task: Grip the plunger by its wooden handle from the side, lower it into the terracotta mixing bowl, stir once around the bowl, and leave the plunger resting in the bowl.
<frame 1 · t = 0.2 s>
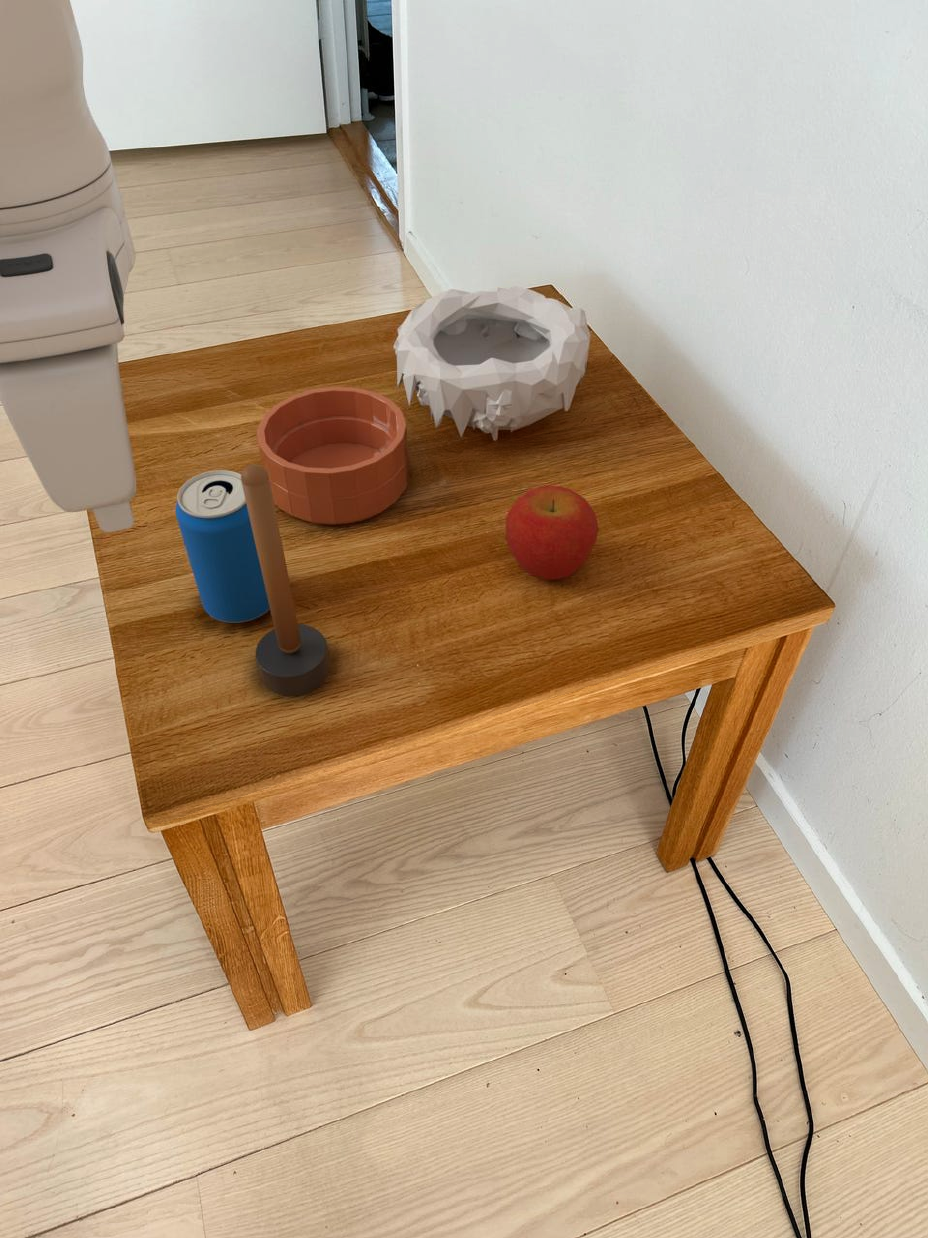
hand: (110, 471, 53), 24 cm above the table, tool pointing down, fingers open, 8 cm apart
beverage can: (242, 603, 80), on the table
plunger: (295, 669, 75), on the table
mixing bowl: (338, 482, 91), on the table
bowl: (492, 408, 100), on the table
apple: (548, 567, 83), on the table
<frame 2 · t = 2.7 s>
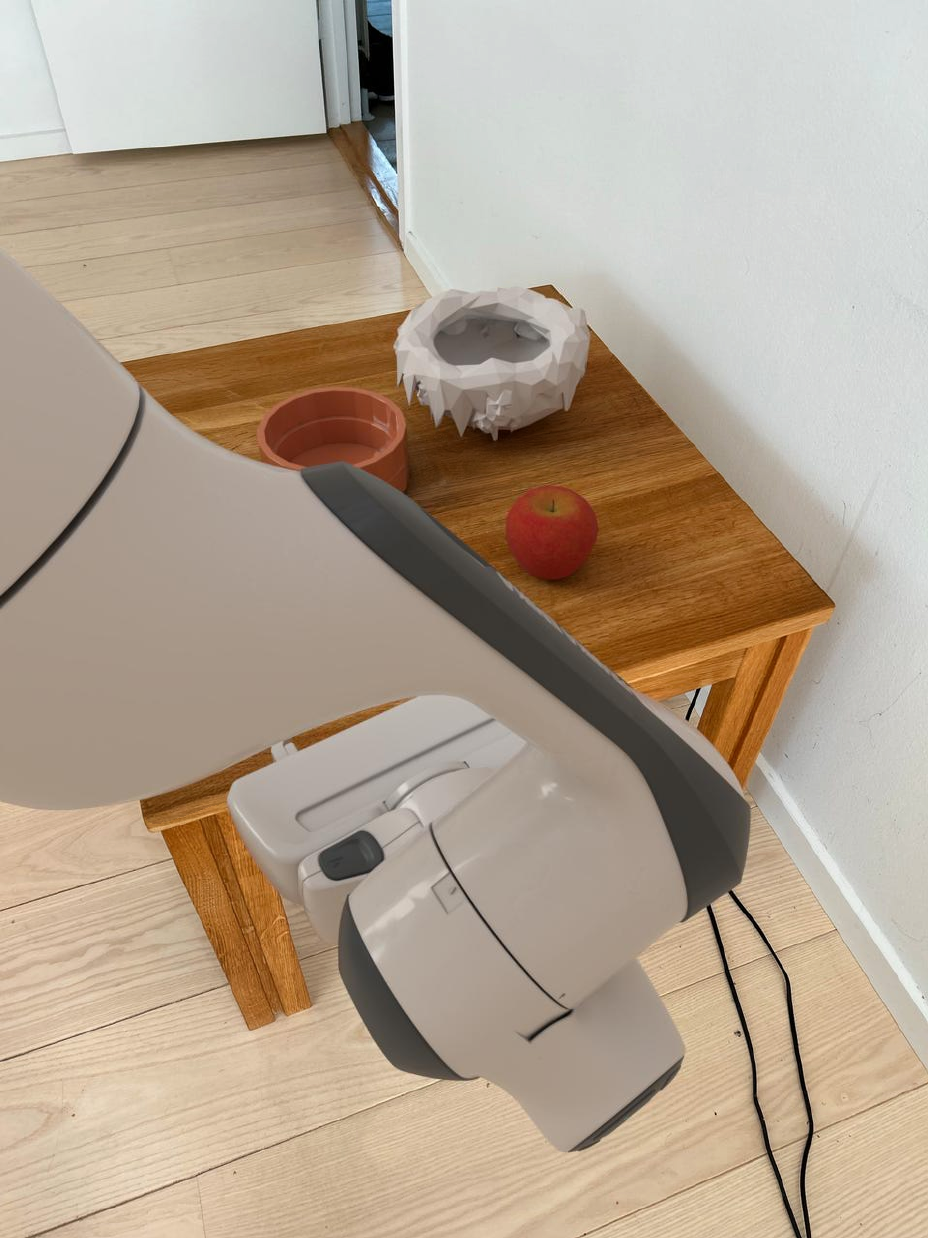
hand: (346, 679, 60), 11 cm above the table, tool horizontal, fingers open, 8 cm apart
nothing on the table moved.
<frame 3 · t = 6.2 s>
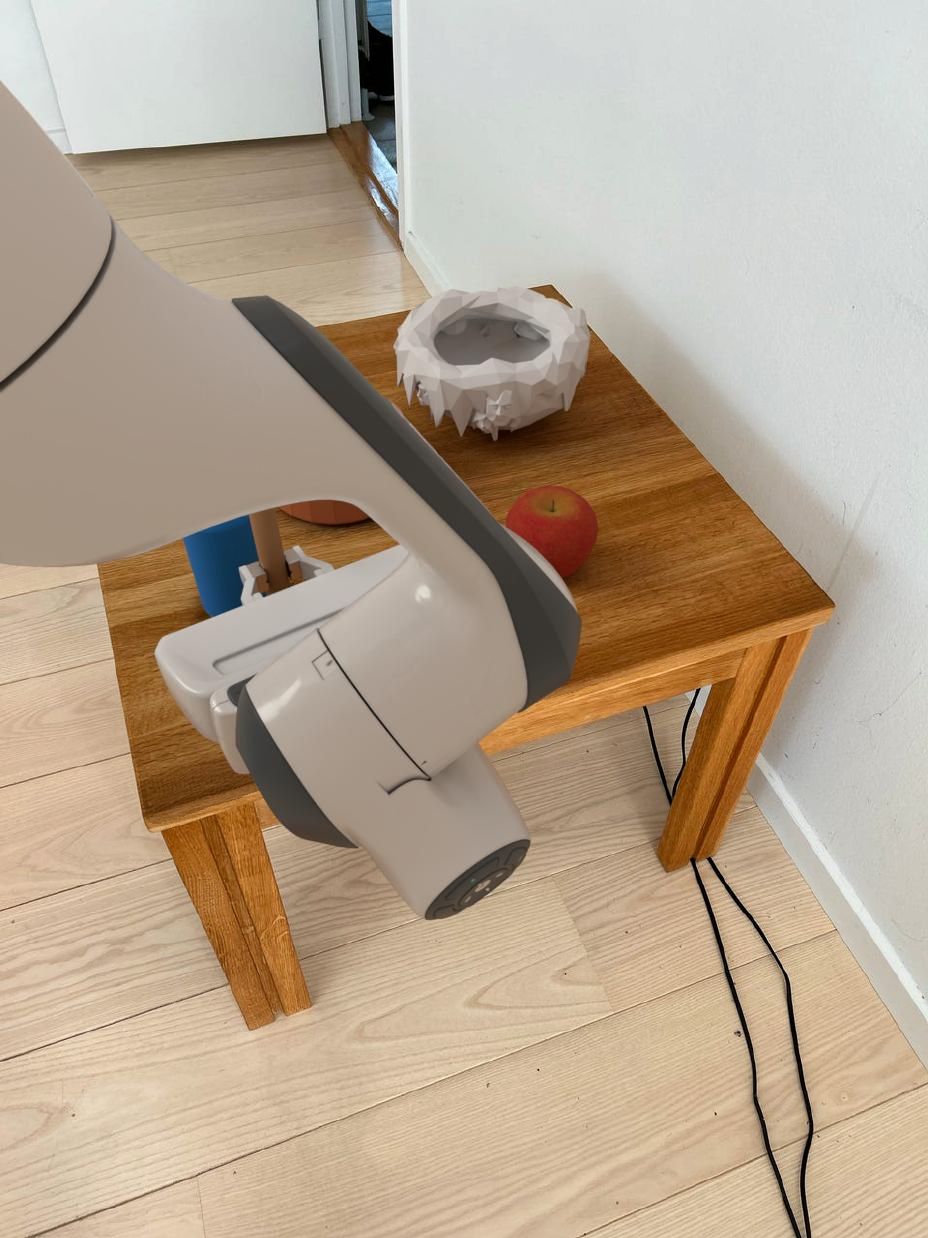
hand: (269, 562, 67), 11 cm above the table, tool horizontal, fingers closed on plunger
plunger: (295, 669, 75), on the table, touching gripper
everything else where it was.
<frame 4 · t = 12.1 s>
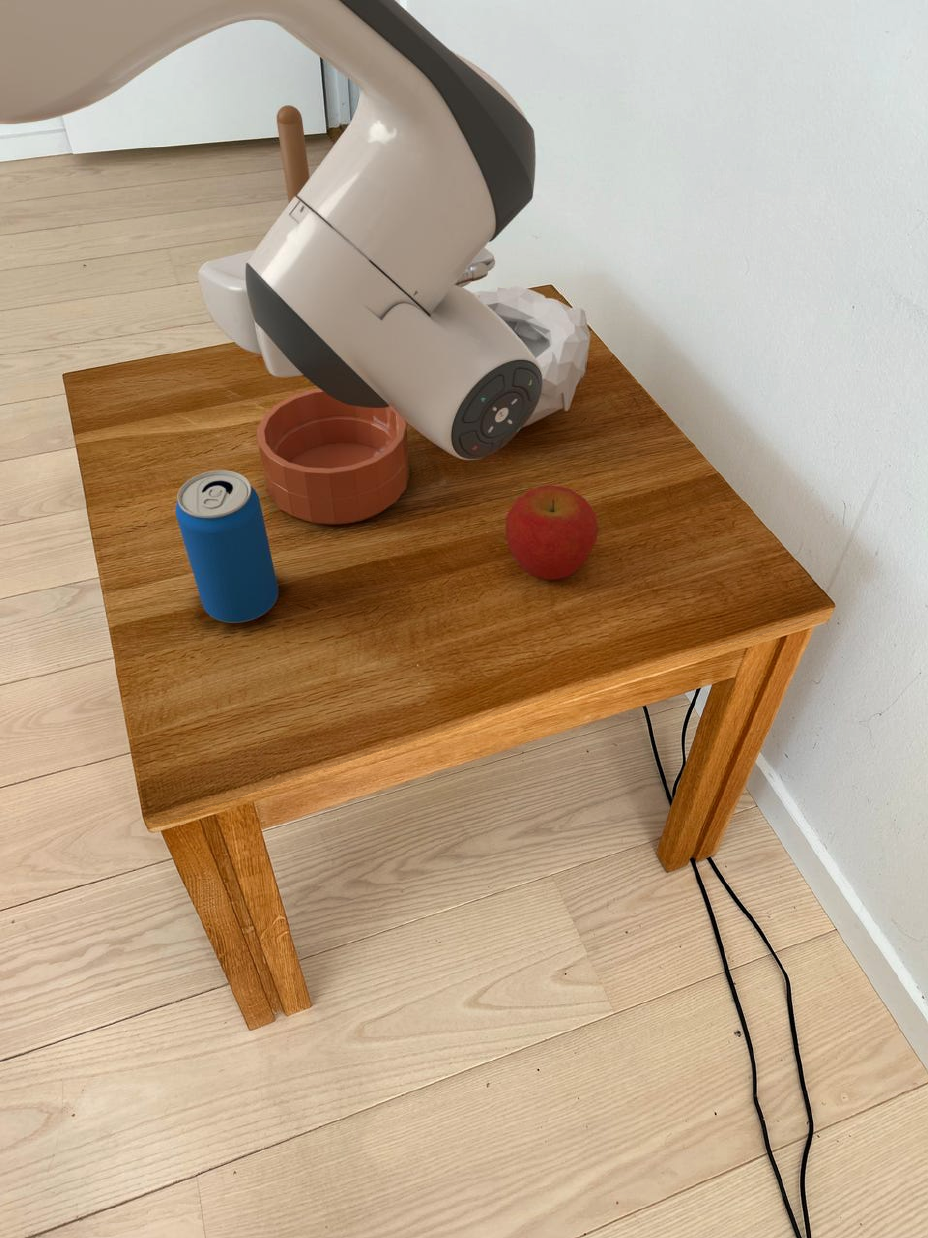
hand: (300, 230, 73), 25 cm above the table, tool horizontal, fingers closed on plunger
plunger: (322, 360, 80), point 14 cm above the table, touching gripper
everything else where it was.
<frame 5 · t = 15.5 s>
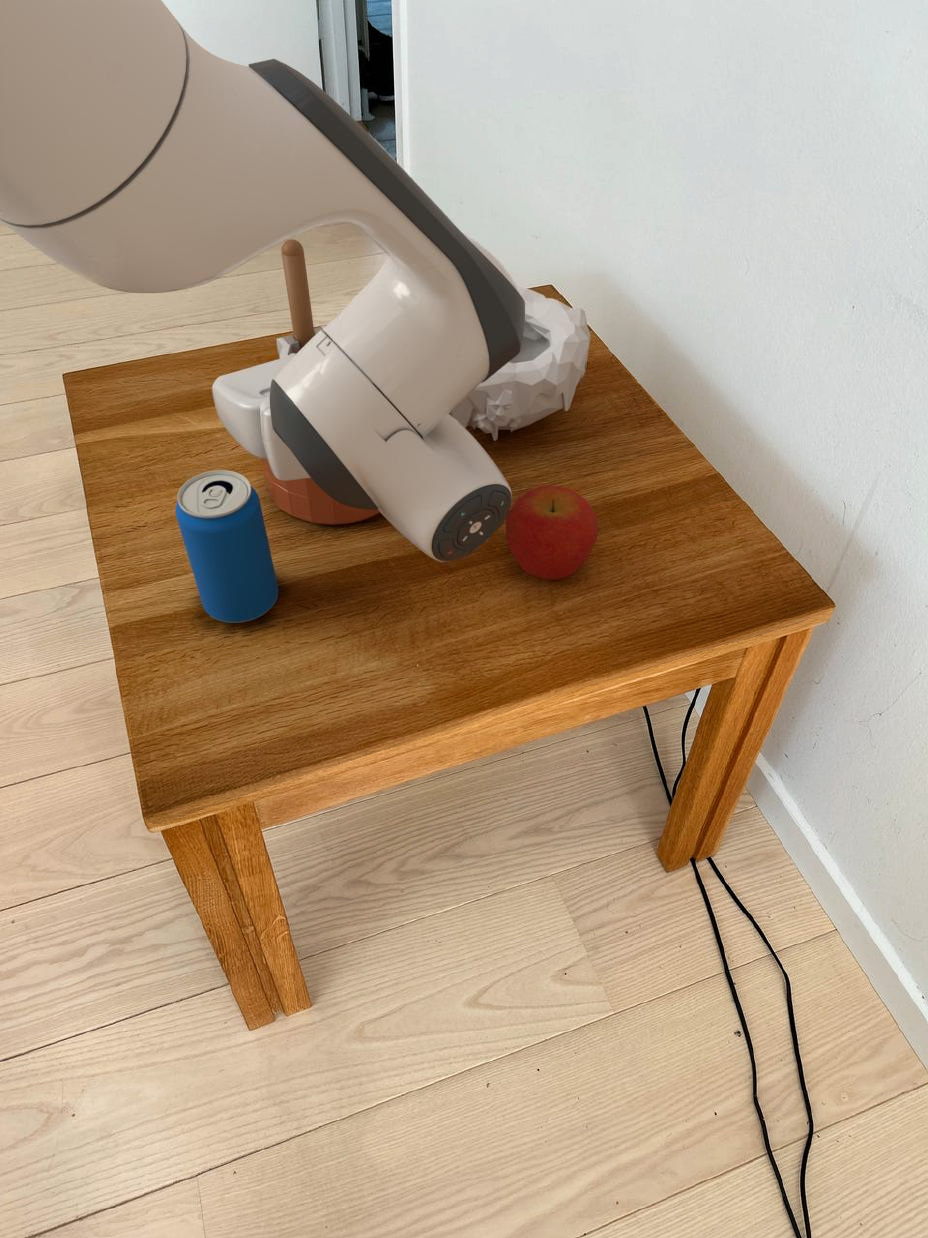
hand: (300, 339, 82), 15 cm above the table, tool horizontal, fingers closed on plunger
plunger: (319, 447, 89), point 4 cm above the table, touching gripper
everything else where it was.
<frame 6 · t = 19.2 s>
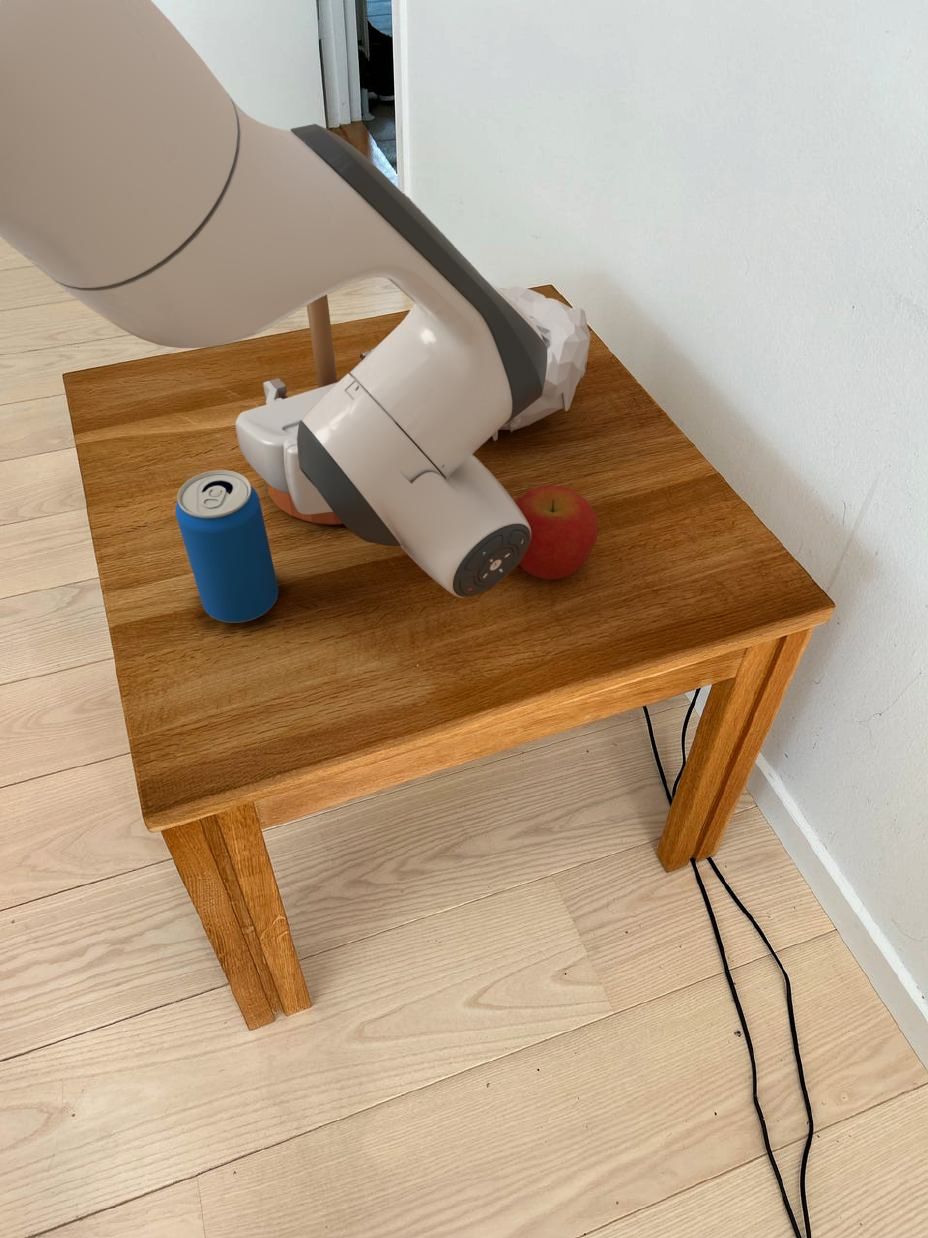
hand: (320, 371, 83), 12 cm above the table, tool horizontal, fingers open, 8 cm apart
plunger: (339, 477, 91), point 1 cm above the table, touching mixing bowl
everything else where it was.
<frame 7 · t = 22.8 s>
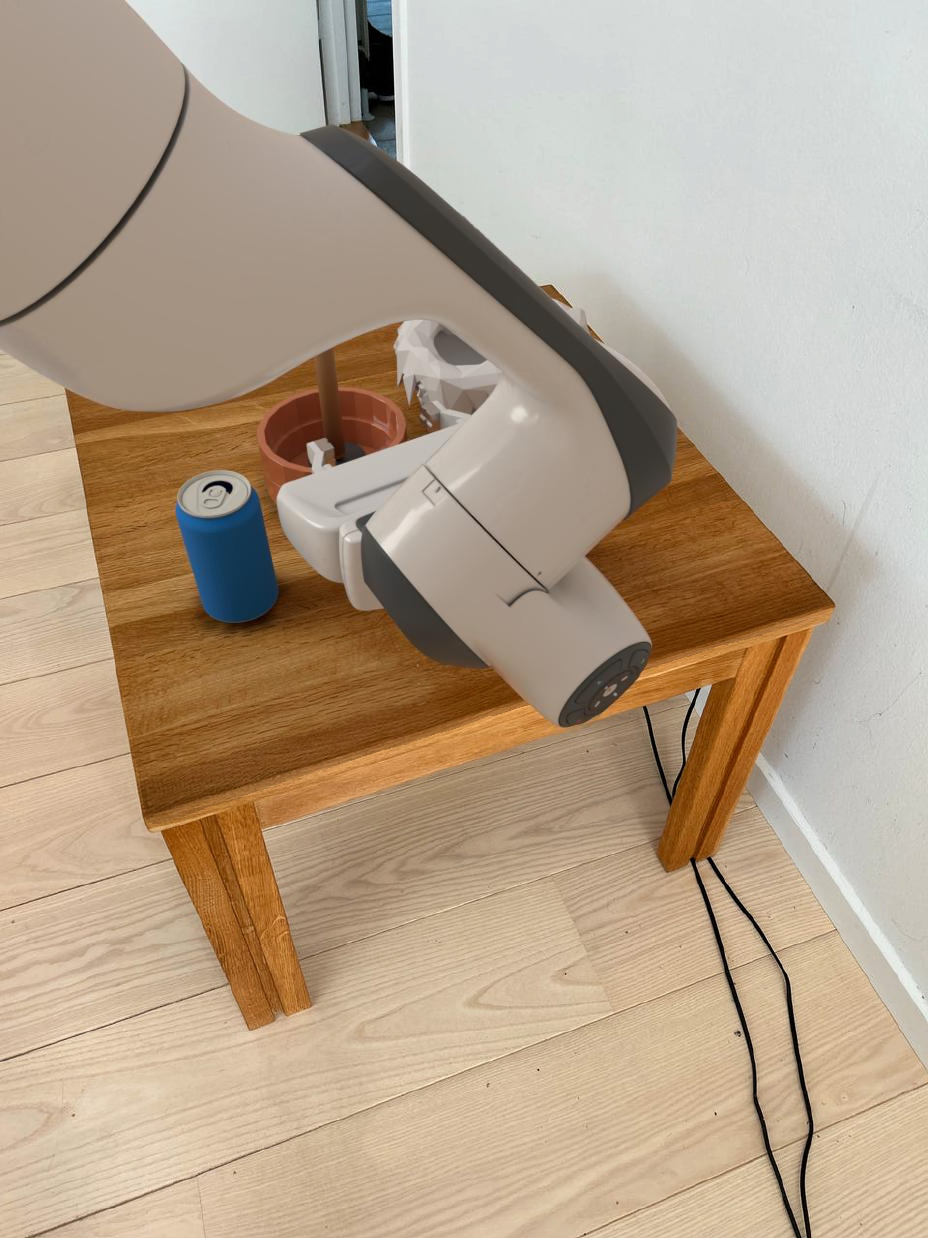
hand: (373, 428, 70), 16 cm above the table, tool horizontal, fingers open, 8 cm apart
nothing on the table moved.
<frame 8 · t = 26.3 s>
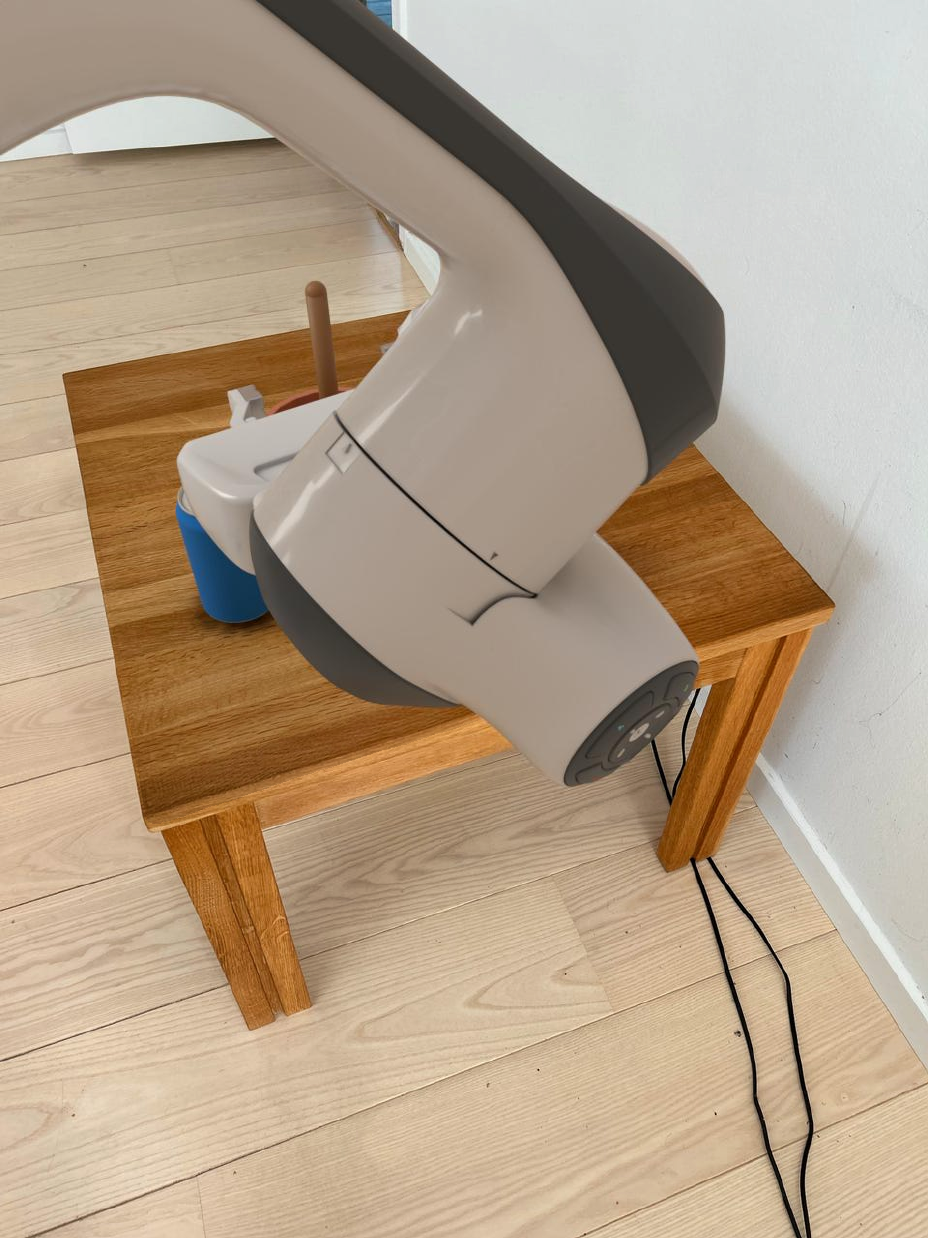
hand: (318, 374, 53), 28 cm above the table, tool horizontal, fingers open, 8 cm apart
nothing on the table moved.
at the end: plunger inside the target area in the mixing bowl (0.1 cm from its centre), point 0.6 cm above the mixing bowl's base; the gripper is holding nothing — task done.
